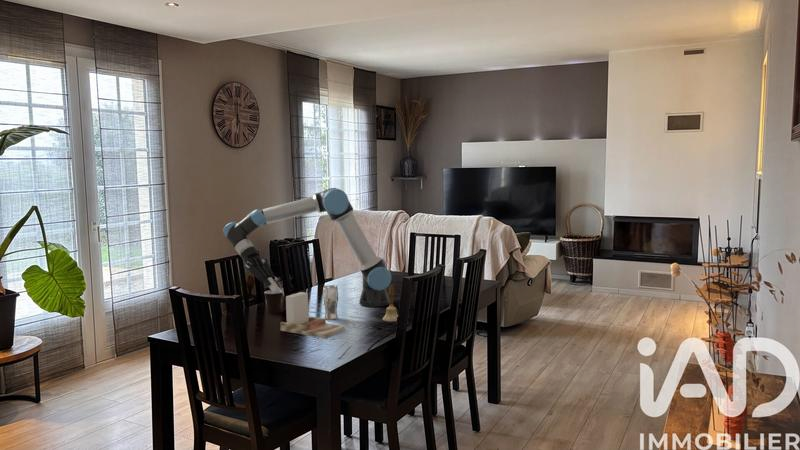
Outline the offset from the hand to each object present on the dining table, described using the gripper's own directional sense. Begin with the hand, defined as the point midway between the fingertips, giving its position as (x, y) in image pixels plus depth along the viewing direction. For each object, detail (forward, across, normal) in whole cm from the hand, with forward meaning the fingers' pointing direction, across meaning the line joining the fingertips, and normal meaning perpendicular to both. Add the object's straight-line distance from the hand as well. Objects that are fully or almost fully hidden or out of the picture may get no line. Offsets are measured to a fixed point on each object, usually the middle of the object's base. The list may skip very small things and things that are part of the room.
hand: (276, 290), depth 266 cm
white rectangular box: (+18, 0, -2) cm, 18 cm away
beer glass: (+22, -20, 0) cm, 29 cm away
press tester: (+25, 0, +3) cm, 25 cm away
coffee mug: (-1, -18, -23) cm, 29 cm away
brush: (+40, -31, +18) cm, 54 cm away
